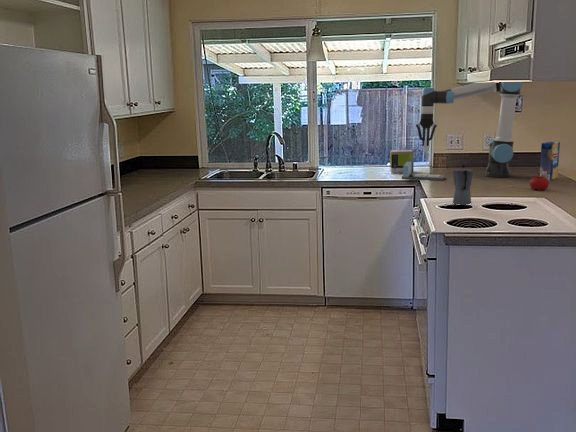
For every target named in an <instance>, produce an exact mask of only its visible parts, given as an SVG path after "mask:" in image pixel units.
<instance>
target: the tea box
mask: <svg viewBox="0 0 576 432" xmlns="http://www.w3.org/2000/svg"><path fill="white" fill-rule="evenodd" d="M389 153H390V154H389V157H390V161H389V162H390V164H389V166H390V167H389V170H390V173H391V174H403V165H405V164H406V162H407V161H413V173H414V171H415V170H414V168H415V167H414V163H415V162H414V157H415V156H414V155H415V154H414V153H415V152H414V151H413V149H402V150H401V149H400V150H398V149H397V150H395V149H393V150H390V151H389Z"/></svg>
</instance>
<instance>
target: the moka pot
mask: <svg viewBox="0 0 576 432" xmlns="http://www.w3.org/2000/svg"><path fill="white" fill-rule="evenodd" d="M452 171H453V172H452V173H453V185H454V193H453V199H452V204H453V203H454V204H460V205H466V204H470V203H471V204H472V196H471V186H472V180H473V174H474V169H470V168H467V167H466V164H462V165H461V168H454V169H453V170H452Z"/></svg>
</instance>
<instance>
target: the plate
mask: <svg viewBox="0 0 576 432" xmlns="http://www.w3.org/2000/svg"><path fill="white" fill-rule="evenodd" d="M445 178H446V174H445V175H444V174H425V173H422V174H421V173H411V174H410V175H409V177H403V175H402V176H401V180H419V181H442V182H443V180H444V179H445Z"/></svg>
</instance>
